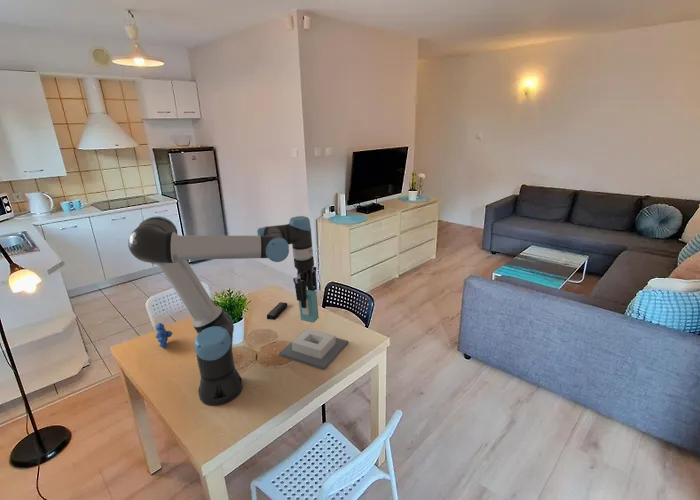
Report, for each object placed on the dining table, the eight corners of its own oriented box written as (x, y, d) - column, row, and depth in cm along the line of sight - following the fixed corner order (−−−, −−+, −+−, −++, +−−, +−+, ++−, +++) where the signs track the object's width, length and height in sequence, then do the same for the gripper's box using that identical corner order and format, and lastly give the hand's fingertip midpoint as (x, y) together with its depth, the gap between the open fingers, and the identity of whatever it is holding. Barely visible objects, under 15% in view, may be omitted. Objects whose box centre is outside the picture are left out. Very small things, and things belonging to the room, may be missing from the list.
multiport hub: (287, 306, 194) (287, 302, 193) (274, 320, 181) (274, 316, 180) (280, 305, 195) (279, 302, 194) (266, 319, 182) (266, 315, 181)
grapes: (176, 351, 158) (171, 326, 154) (159, 356, 155) (153, 331, 151) (174, 338, 168) (169, 315, 164) (157, 342, 165) (152, 319, 161)
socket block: (324, 370, 143) (323, 358, 142) (279, 355, 153) (277, 344, 151) (348, 343, 160) (348, 332, 158) (306, 331, 170) (305, 321, 168)
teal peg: (313, 322, 147) (311, 295, 143) (300, 320, 149) (297, 293, 145) (318, 317, 150) (316, 291, 146) (306, 315, 153) (303, 289, 148)
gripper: (299, 266, 132) (305, 323, 140) (323, 250, 146) (327, 303, 154) (282, 263, 135) (289, 319, 143) (306, 248, 149) (311, 300, 157)
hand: (309, 311), depth 148 cm, fingers closed on teal peg, 4 cm apart
